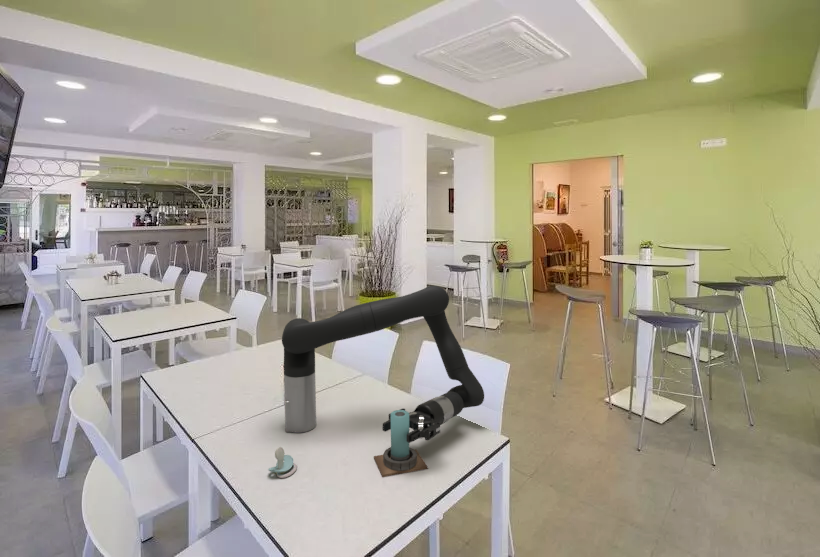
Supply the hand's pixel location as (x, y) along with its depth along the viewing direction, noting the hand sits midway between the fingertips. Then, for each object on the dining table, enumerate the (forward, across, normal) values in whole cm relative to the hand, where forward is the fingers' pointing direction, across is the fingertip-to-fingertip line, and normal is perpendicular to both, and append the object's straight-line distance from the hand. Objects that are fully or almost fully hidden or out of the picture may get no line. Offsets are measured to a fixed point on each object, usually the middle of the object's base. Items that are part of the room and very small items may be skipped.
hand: (395, 433), depth 111 cm
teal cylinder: (-2, 0, +8) cm, 9 cm away
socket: (-2, 0, +9) cm, 9 cm away
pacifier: (+20, -19, +10) cm, 30 cm away
